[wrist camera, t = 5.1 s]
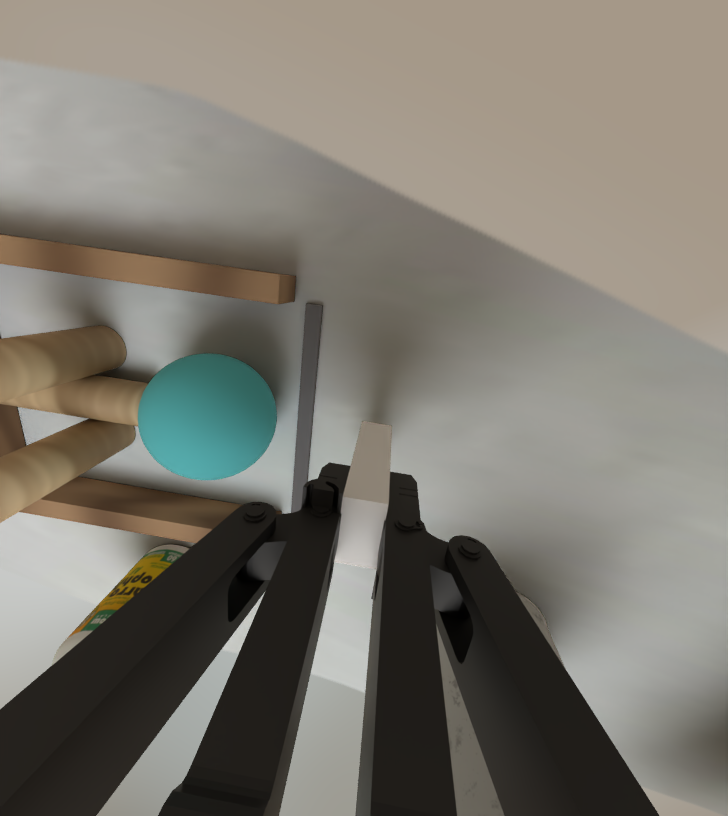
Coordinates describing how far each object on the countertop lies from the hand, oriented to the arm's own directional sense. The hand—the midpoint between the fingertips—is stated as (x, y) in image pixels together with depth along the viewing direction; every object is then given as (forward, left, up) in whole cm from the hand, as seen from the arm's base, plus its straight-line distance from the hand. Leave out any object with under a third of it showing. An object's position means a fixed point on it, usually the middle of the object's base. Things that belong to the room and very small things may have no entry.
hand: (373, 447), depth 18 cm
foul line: (+4, 0, -2) cm, 4 cm away
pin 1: (+15, -2, -2) cm, 16 cm away
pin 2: (+15, +2, -2) cm, 16 cm away
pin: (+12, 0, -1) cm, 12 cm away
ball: (+8, -1, +1) cm, 8 cm away
